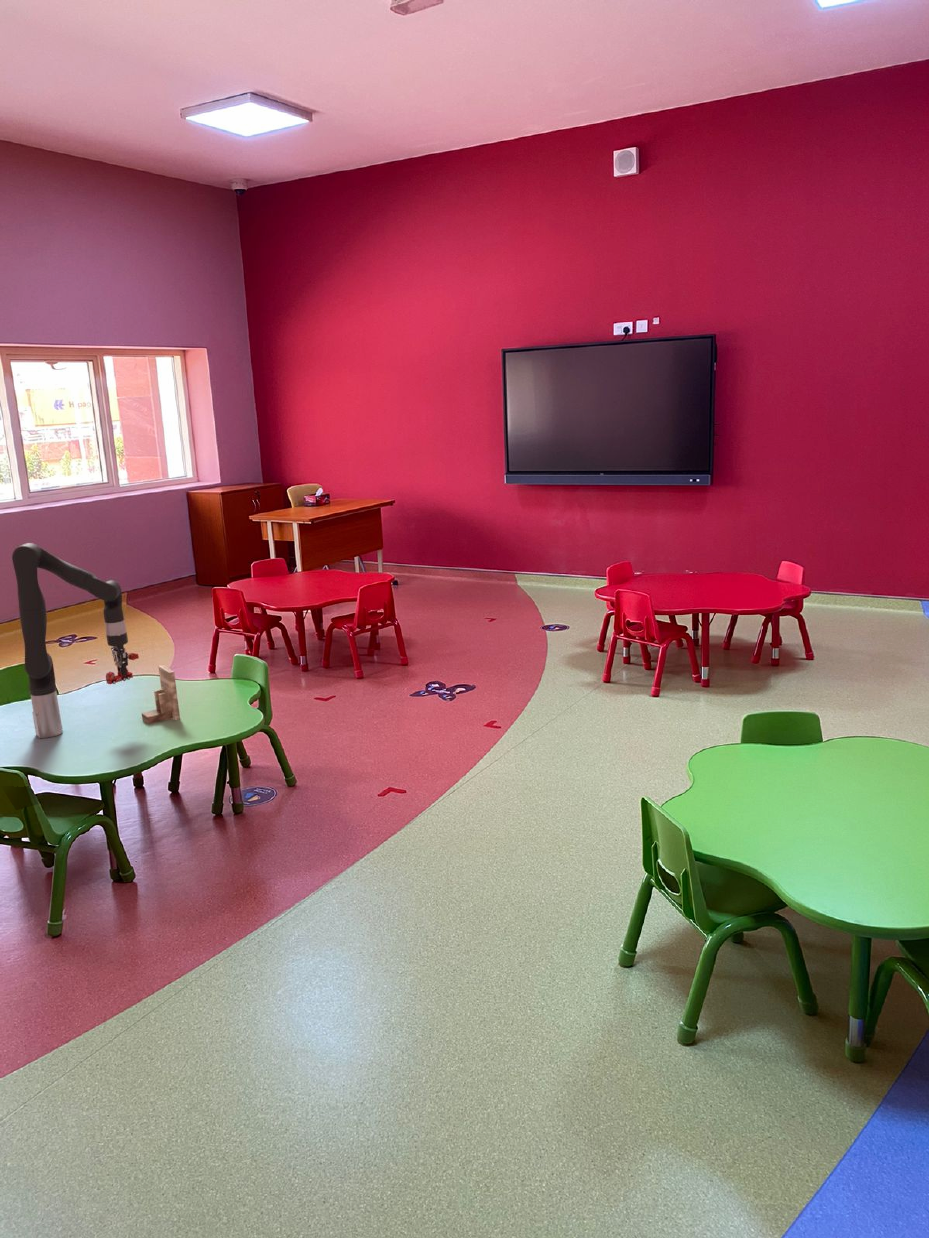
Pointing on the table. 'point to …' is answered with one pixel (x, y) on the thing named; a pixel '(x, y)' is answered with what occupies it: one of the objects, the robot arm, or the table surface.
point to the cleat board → (164, 699)
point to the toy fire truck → (114, 679)
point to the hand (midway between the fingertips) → (122, 674)
